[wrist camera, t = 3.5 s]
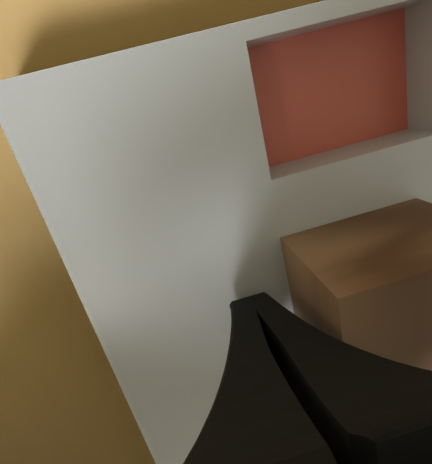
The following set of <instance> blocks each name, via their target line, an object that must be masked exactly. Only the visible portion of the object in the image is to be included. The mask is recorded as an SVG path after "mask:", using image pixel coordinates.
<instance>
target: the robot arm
mask: <svg viewBox="0 0 432 464" xmlns="http://www.w3.org/2000/svg"><path fill="white" fill-rule="evenodd" d="M229 306H230V309H231V333H230V343H229V349H228V354H227V360H226V364H225V368H224V372H223V376H222V379H221V382H220V386H219V388H218V391H217V394H216V397H215V400H214V402H213V405H212V408H211V410H210V412H209V415H208V417H207V419H206V421H205V423H204V425H203V427H202V430H201V432H200V434H199V436H198V438H197V440H196V442H195V444H194V445H193V447H192V449H191V450H190V452H189V454H188V456H187V457H186V459H185V461H184V463H183V464H432V371H431V370H426V369H422V368H418V367H414V366H411V365H407V364H403V363H400V362H396V361H393V360H390V359H387V358H384V357H380V356H378V355H375V354H372V353H369V352H367V351H364V350H361V349H359V348H356V347H354V346H351V345H349V344H347V343H345V342H342V341H340V340H338V339H336V338H334V337H332V336H330V335H328V334H326V333H324V332H322V331H321V330H319V329H317V328H316V327H314V326H312V325H310V324H309V323H307V322H306V321H304V320H303V319H301V318H299V317H298V316H296V315H295V314H293V313H292V312H291V311H289V310H288V309H286V308H285V307H284V306H282V305H281V304H280V303H278V302H277V301H276V300H274V299H273V298H272V297H271V296H269V295H268V294H267V293H265V292H262V293H258V294H255V295H252V296H248V297H245V298H241V299H238V300H235V301H232V302H231V303H230V305H229Z"/></svg>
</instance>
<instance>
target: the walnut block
mask: <svg viewBox="0 0 432 464" xmlns="http://www.w3.org/2000/svg"><path fill="white" fill-rule="evenodd" d="M280 240H281V246H282V251H283V257H284V262H285V268H286V273H287V278H288V284H289V289H290V295H291V300H292V305H293V311H294V314H295V315H296V316H298V317H299V318H301V319H303V320H304V321H306V322H307V323H309V324H310V325H312V326H314V327H316V328H317V329H319V330H321V331H322V332H324V333H326V334H328V335H330V336H332V337H334V338H336V339H338V340H340V341H342V342H345V343H347V344H349V345H351V346H354V347H356V348H359V349H361V350H364V351H367V352H369V353H372V354H375V355H378V356H380V357H384V358H387V359H390V360H393V361H396V362H400V363H403V364H407V365H411V366H414V367H418V368H422V369H426V370H431V371H432V203H429V202H426V201H423V200H421V199H418V198H414V199H411V200H407V201H404V202H401V203H397V204H394V205H390V206H387V207H383V208H380V209H377V210H373V211H370V212H366V213H363V214H359V215H356V216H352V217H349V218H346V219H342V220H339V221H335V222H332V223H328V224H325V225H321V226H318V227H315V228H311V229H308V230H304V231H301V232H297V233H294V234H291V235H287V236H284V237H280Z"/></svg>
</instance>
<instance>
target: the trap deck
mask: <svg viewBox="0 0 432 464" xmlns="http://www.w3.org/2000/svg"><path fill="white" fill-rule="evenodd" d="M0 125H1V127H2V129H3V131H4V134H5V136H6V138H7V140H8V142H9V144H10V147H11V149H12V151H13V153H14V155H15V158H16V160H17V162H18V164H19V166H20V169H21V171H22V173H23V175H24V177H25V179H26V182H27V184H28V186H29V188H30V190H31V193H32V195H33V197H34V199H35V201H36V203H37V206H38V208H39V210H40V212H41V214H42V217H43V219H44V221H45V223H46V225H47V228H48V230H49V232H50V234H51V236H52V238H53V241H54V243H55V245H56V247H57V249H58V252H59V254H60V256H61V258H62V260H63V263H64V265H65V267H66V269H67V271H68V273H69V276H70V278H71V280H72V282H73V284H74V287H75V289H76V291H77V293H78V295H79V298H80V300H81V302H82V304H83V306H84V308H85V311H86V313H87V315H88V317H89V319H90V322H91V324H92V326H93V328H94V330H95V333H96V335H97V337H98V339H99V341H100V343H101V346H102V348H103V350H104V352H105V354H106V357H107V359H108V361H109V363H110V365H111V368H112V370H113V372H114V374H115V376H116V378H117V381H118V383H119V385H120V387H121V389H122V392H123V394H124V396H125V398H126V400H127V403H128V405H129V407H130V409H131V411H132V413H133V416H134V418H135V420H136V422H137V424H138V427H139V429H140V431H141V433H142V435H143V438H144V440H145V442H146V444H147V446H148V448H149V451H150V453H151V455H152V457H153V459H154V462H155V464H183V463H184V461H185V459H186V457H187V456H188V454H189V452H190V450H191V449H192V447H193V445H194V444H195V442H196V440H197V438H198V436H199V434H200V432H201V430H202V427H203V425H204V423H205V421H206V419H207V417H208V415H209V412H210V410H211V408H212V405H213V402H214V400H215V397H216V394H217V391H218V388H219V386H220V382H221V379H222V376H223V372H224V368H225V364H226V360H227V354H228V349H229V343H230V333H231V309H230V306H229V305H230V303H231V302H232V301H235V300H238V299H241V298H245V297H248V296H252V295H255V294H258V293H262V292H265V293H267V294H268V295H269V296H271V297H272V298H273V299H274V300H276V301H277V302H278V303H280V304H281V305H282V306H284V307H285V308H286V309H288V310H289V311H291V312H292V313H293V314H294V311H293V305H292V300H291V295H290V289H289V284H288V278H287V273H286V268H285V262H284V257H283V251H282V246H281V240H280V237H284V236H287V235H291V234H294V233H297V232H301V231H304V230H308V229H311V228H315V227H318V226H321V225H325V224H328V223H332V222H335V221H339V220H342V219H346V218H349V217H352V216H356V215H359V214H363V213H366V212H370V211H373V210H377V209H380V208H383V207H387V206H390V205H394V204H397V203H401V202H404V201H407V200H411V199H414V198H418V199H421V200H423V201H426V202H429V203H432V0H323V1H319V2H315V3H311V4H307V5H303V6H299V7H295V8H291V9H287V10H283V11H279V12H275V13H271V14H267V15H262V16H258V17H254V18H250V19H246V20H242V21H238V22H234V23H230V24H226V25H222V26H218V27H214V28H210V29H206V30H202V31H198V32H194V33H189V34H185V35H181V36H177V37H173V38H169V39H165V40H161V41H157V42H153V43H149V44H145V45H141V46H137V47H133V48H129V49H125V50H120V51H116V52H112V53H108V54H104V55H100V56H96V57H92V58H88V59H84V60H80V61H76V62H72V63H68V64H64V65H60V66H56V67H52V68H48V69H43V70H39V71H35V72H31V73H27V74H23V75H19V76H15V77H11V78H7V79H3V80H0Z"/></svg>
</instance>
